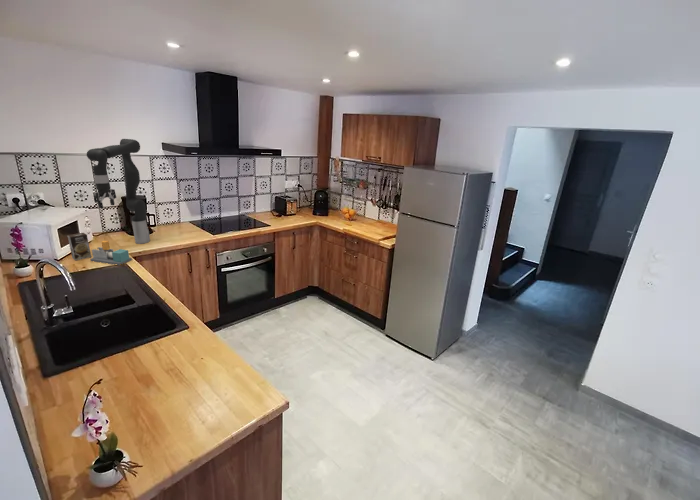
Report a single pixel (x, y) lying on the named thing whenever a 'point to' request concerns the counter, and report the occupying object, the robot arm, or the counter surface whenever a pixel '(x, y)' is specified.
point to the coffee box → (79, 246)
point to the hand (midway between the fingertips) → (107, 206)
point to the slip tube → (106, 248)
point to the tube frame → (118, 257)
